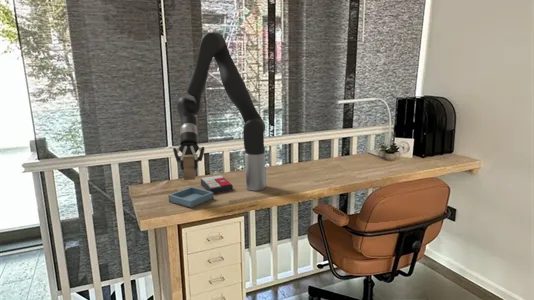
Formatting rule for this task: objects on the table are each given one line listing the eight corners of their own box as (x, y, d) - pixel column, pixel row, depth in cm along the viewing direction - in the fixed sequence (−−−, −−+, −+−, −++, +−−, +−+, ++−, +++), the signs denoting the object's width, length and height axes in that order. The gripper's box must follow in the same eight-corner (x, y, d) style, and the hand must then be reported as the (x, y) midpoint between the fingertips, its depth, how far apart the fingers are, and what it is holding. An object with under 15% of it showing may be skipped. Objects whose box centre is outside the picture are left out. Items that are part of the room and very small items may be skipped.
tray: (192, 192, 183) (191, 186, 182) (213, 198, 175) (213, 192, 174) (168, 201, 172) (168, 194, 171) (190, 208, 164) (190, 201, 164)
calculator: (210, 187, 180) (200, 177, 193) (210, 196, 181) (200, 185, 194) (232, 183, 184) (221, 173, 197) (232, 192, 186) (221, 182, 199)
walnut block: (184, 176, 173) (183, 154, 171) (195, 176, 174) (194, 154, 171) (184, 180, 169) (183, 157, 166) (194, 179, 169) (193, 156, 167)
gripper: (171, 131, 173) (171, 165, 164) (204, 130, 175) (206, 164, 166) (173, 140, 179) (172, 174, 170) (205, 139, 181) (206, 172, 172)
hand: (189, 169), depth 168 cm, fingers closed on walnut block, 4 cm apart
